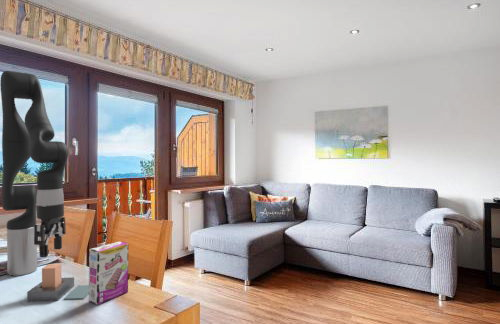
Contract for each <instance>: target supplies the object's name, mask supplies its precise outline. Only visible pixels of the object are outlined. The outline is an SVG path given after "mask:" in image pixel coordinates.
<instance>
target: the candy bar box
mask: <svg viewBox="0 0 500 324" xmlns="http://www.w3.org/2000/svg"><path fill="white" fill-rule="evenodd" d="M88 250H89V251H88V285H89V294H88V302H90V303H92V304H94V305H97V306H99V305H101V304H104V303H105V302H108V301H111V300H113V299H116V298H117V297H120V296H122V295H124V294H126V293H129V243H127V242H123V241H115V242H112V243H109V244H108V243H107V244H104V245H101V246H95V247H93V248H89V249H88Z"/></svg>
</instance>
